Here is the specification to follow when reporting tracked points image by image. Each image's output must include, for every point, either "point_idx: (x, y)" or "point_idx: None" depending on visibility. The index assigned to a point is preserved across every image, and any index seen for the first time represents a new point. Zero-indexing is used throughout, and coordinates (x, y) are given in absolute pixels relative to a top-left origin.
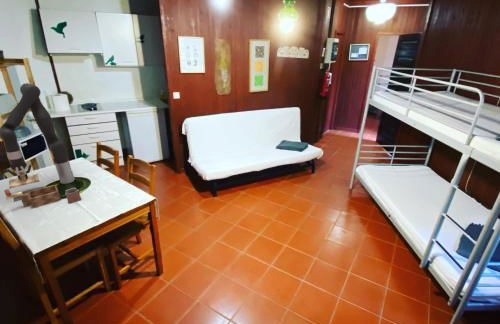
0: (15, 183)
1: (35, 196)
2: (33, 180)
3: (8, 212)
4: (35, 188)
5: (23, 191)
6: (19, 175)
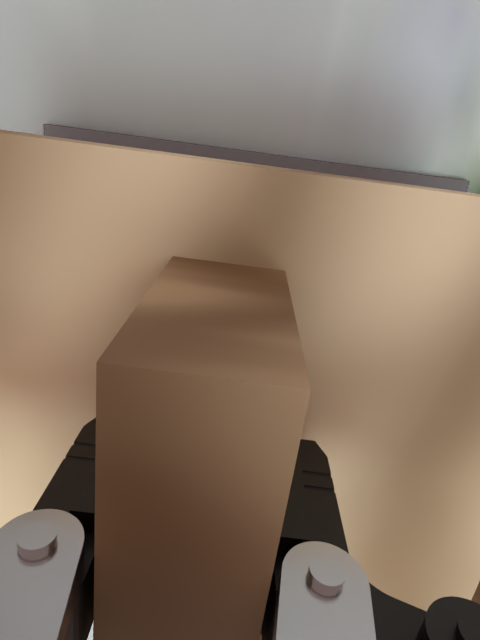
0: (21, 481)
1: None
2: (367, 576)
3: None
4: (344, 175)
5: (180, 149)
6: (91, 608)
